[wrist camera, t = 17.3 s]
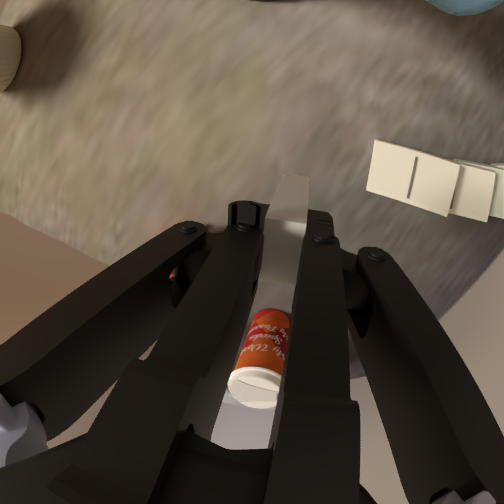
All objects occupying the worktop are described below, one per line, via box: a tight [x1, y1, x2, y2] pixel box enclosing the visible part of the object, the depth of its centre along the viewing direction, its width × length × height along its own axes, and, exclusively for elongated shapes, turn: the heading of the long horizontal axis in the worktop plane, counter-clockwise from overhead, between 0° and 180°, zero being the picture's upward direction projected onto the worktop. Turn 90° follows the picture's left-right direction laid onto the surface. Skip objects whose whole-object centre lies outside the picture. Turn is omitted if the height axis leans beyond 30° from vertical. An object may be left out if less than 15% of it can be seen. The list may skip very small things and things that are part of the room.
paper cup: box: [228, 309, 290, 408], centre depth 41 cm, size 8×8×14 cm
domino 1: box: [366, 139, 460, 217], centre depth 30 cm, size 6×2×10 cm
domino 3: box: [454, 159, 504, 219], centre depth 28 cm, size 6×2×10 cm
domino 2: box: [448, 159, 496, 222], centre depth 29 cm, size 6×2×10 cm
